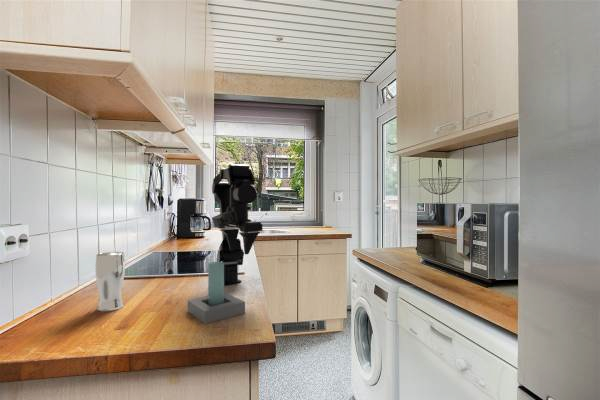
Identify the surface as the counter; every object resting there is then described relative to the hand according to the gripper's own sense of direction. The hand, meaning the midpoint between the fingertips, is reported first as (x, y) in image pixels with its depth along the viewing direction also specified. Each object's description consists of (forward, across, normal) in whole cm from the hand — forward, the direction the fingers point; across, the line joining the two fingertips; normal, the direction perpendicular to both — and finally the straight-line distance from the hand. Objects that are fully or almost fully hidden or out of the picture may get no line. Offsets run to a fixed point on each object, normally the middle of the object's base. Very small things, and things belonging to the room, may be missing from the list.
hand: (239, 252), depth 102 cm
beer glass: (+13, -11, -34) cm, 38 cm away
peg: (+13, +11, -13) cm, 22 cm away
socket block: (+13, +12, -14) cm, 22 cm away
